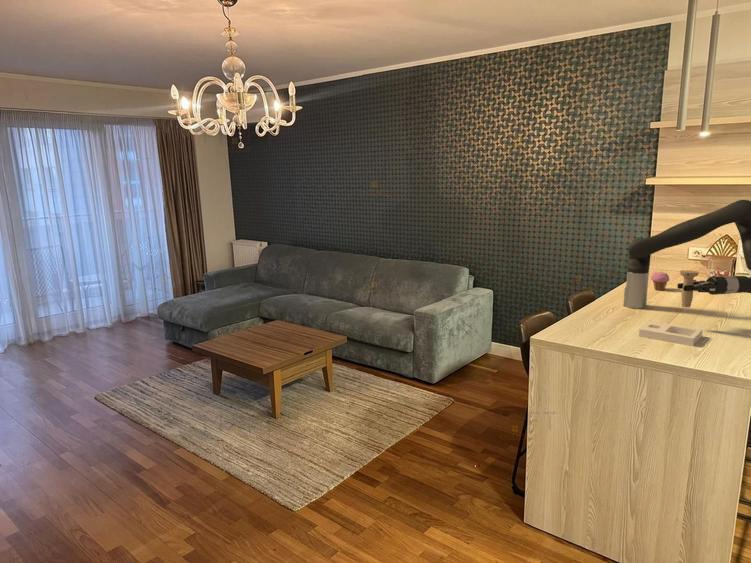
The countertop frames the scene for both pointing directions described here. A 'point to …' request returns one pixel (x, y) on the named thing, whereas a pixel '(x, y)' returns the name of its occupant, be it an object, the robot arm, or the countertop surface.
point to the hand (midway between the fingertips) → (681, 287)
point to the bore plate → (671, 333)
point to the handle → (688, 280)
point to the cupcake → (660, 280)
